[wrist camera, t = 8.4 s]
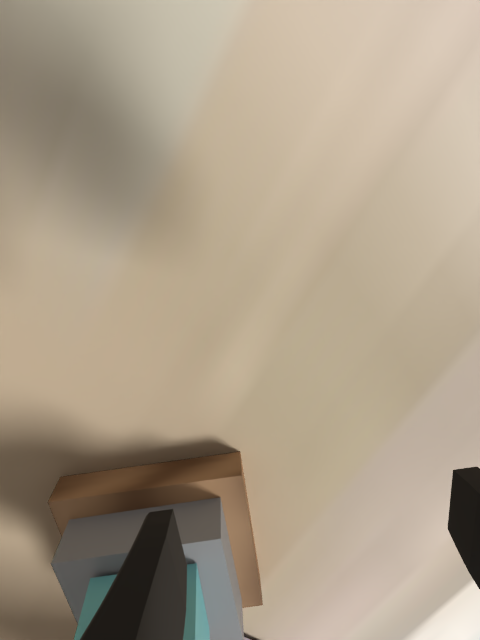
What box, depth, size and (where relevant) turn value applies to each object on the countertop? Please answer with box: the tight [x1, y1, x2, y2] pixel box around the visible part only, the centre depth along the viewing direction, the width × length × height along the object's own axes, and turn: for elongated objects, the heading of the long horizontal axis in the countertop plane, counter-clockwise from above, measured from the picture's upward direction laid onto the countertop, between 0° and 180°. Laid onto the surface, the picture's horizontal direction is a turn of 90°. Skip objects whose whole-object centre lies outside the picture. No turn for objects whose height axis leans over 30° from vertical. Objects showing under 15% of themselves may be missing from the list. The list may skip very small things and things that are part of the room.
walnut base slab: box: [48, 452, 263, 608], centre depth 24 cm, size 10×10×2 cm
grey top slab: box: [51, 497, 244, 640], centre depth 22 cm, size 8×8×2 cm
